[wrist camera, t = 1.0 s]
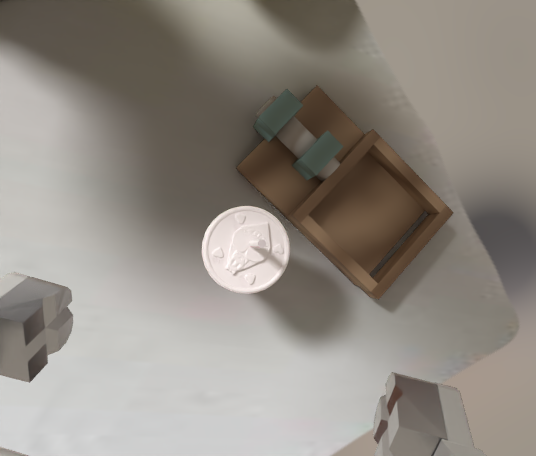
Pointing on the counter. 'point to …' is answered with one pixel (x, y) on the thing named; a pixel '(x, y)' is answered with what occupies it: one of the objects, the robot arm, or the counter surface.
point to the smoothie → (245, 249)
